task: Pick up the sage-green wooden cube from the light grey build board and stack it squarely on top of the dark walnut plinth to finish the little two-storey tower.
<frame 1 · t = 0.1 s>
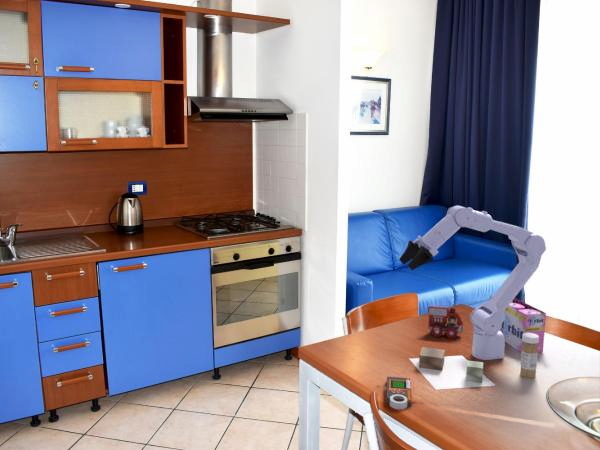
hand: (405, 264, 172), 32 cm above the table, tool tilted 50°, fingers open, 7 cm apart
walnut plinth: (431, 364, 174), resting on build board
electronic device: (398, 398, 155), on the table
gum box: (513, 341, 197), on the table
build board: (449, 373, 169), on the table
sage cube: (474, 378, 164), point 1 cm above the table, touching build board
sprinkles bottle: (527, 378, 167), on the table
toy fire truck: (444, 335, 202), on the table
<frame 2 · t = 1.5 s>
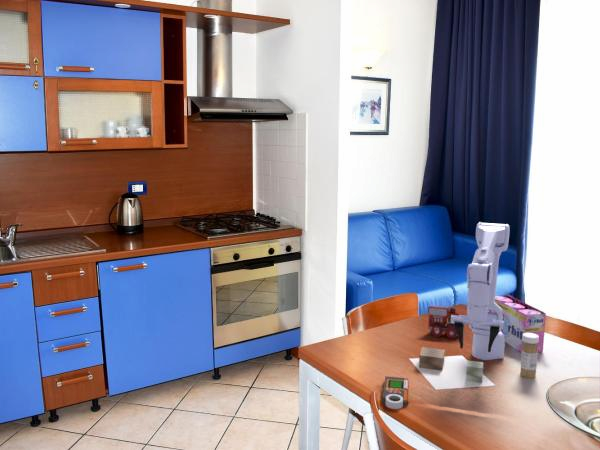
hand: (475, 349, 162), 10 cm above the table, tool pointing down, fingers open, 7 cm apart
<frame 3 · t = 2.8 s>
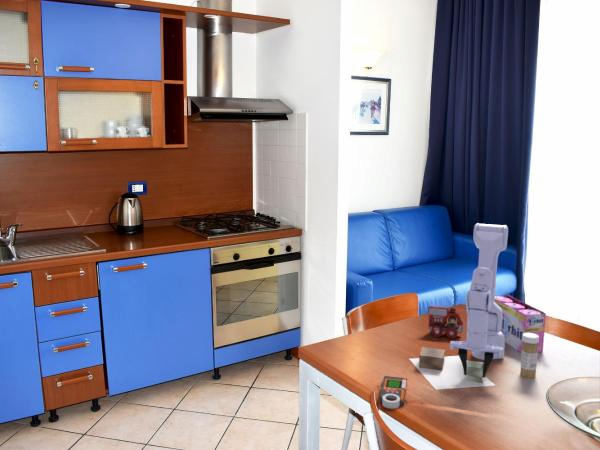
hand: (474, 374, 164), 2 cm above the table, tool pointing down, fingers closed on sage cube, 4 cm apart
sage cube: (474, 378, 164), point 1 cm above the table, touching build board, gripper
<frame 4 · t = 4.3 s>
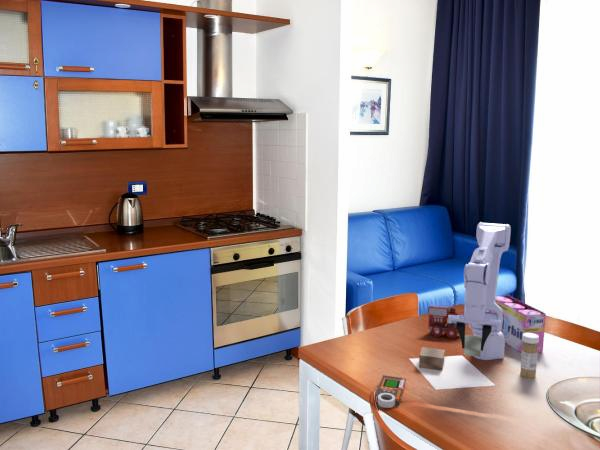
hand: (472, 348, 163), 10 cm above the table, tool pointing down, fingers closed on sage cube, 4 cm apart
sage cube: (472, 352, 163), point 9 cm above the table, touching gripper
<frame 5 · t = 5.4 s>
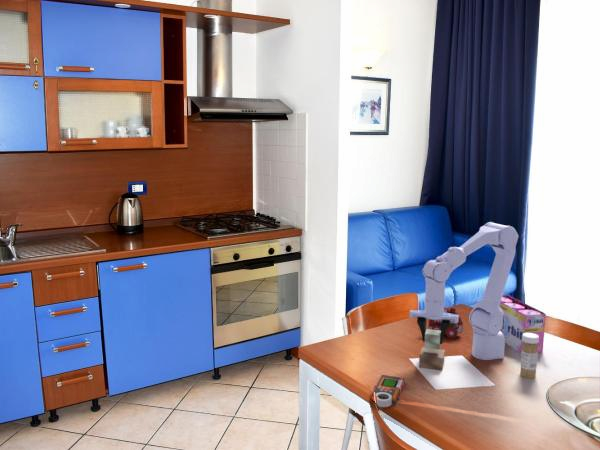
hand: (432, 341, 173), 8 cm above the table, tool pointing down, fingers closed on sage cube, 4 cm apart
sage cube: (432, 346, 173), point 7 cm above the table, touching gripper
when the fingers open (7 cm above the table, at t = 6.0 s): sage cube drops 1 cm, resting on walnut plinth.
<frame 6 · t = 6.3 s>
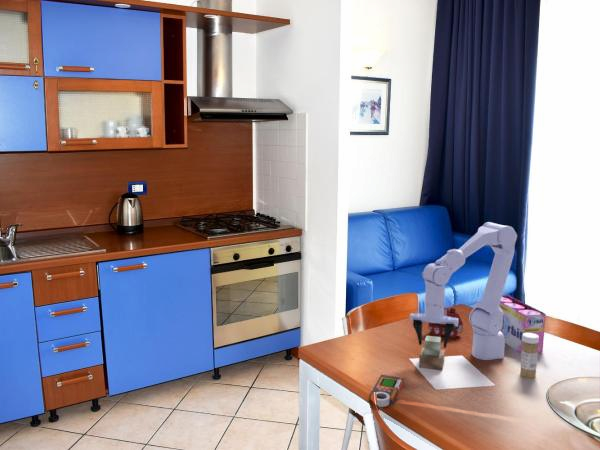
hand: (432, 345, 173), 7 cm above the table, tool pointing down, fingers open, 7 cm apart
sage cube: (432, 352, 173), point 5 cm above the table, touching walnut plinth
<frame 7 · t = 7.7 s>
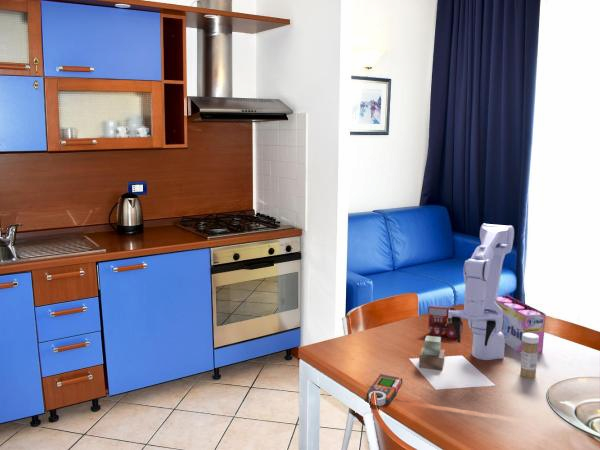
hand: (472, 343, 167), 10 cm above the table, tool pointing down, fingers open, 7 cm apart
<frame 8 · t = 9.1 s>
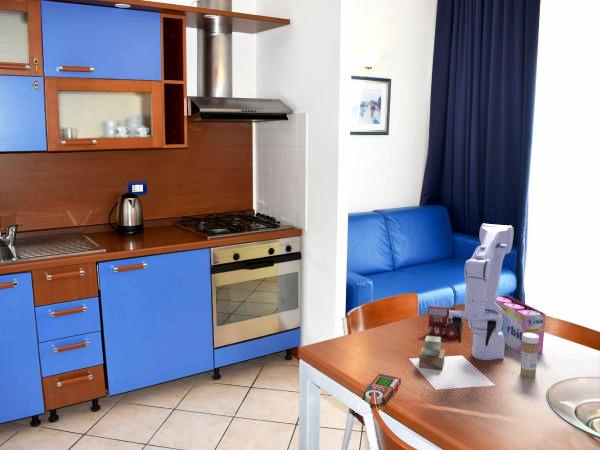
hand: (473, 343, 167), 10 cm above the table, tool pointing down, fingers open, 7 cm apart
at the end: sage cube 0.1 cm off-centre on the walnut plinth, point 4.0 cm above the walnut plinth's base; sage cube tilted 0°; the gripper is holding nothing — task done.
